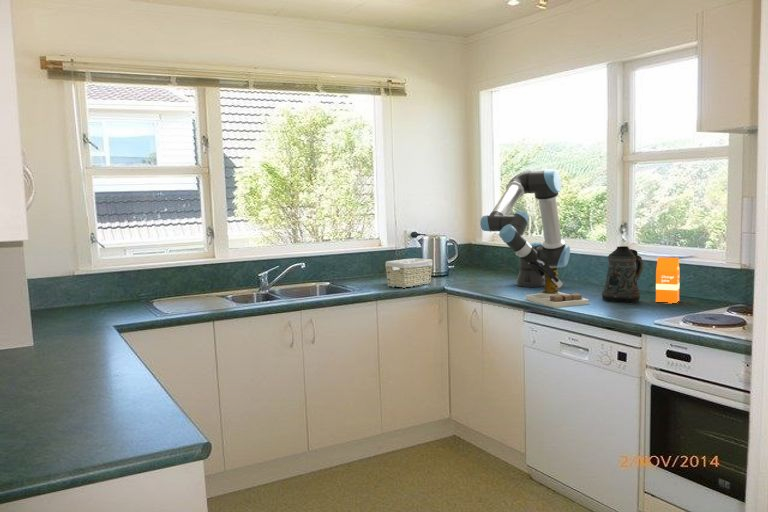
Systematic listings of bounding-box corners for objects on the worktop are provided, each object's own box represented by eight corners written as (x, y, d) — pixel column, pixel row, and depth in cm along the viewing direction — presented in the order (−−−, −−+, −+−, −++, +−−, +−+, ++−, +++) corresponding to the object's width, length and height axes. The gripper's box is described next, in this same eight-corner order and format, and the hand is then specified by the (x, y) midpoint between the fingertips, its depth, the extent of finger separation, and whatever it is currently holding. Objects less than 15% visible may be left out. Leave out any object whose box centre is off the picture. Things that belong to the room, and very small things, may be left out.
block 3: (569, 302, 285) (569, 294, 285) (577, 302, 286) (577, 293, 286) (573, 304, 282) (573, 295, 281) (581, 303, 282) (581, 294, 282)
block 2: (559, 303, 283) (559, 295, 283) (566, 302, 285) (565, 294, 285) (565, 305, 280) (565, 296, 279) (572, 304, 281) (572, 295, 281)
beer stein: (596, 302, 288) (596, 248, 285) (611, 295, 302) (611, 244, 300) (633, 305, 277) (633, 249, 274) (647, 298, 292) (647, 245, 289)
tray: (525, 300, 298) (525, 295, 298) (558, 297, 304) (558, 291, 303) (554, 308, 275) (554, 303, 275) (589, 305, 281) (589, 299, 281)
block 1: (549, 304, 282) (549, 296, 282) (557, 303, 283) (557, 295, 283) (554, 306, 278) (554, 297, 278) (562, 305, 280) (562, 296, 279)
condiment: (558, 294, 289) (558, 268, 288) (539, 293, 292) (539, 268, 291) (558, 291, 296) (558, 266, 295) (540, 291, 299) (540, 266, 298)
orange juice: (677, 303, 277) (677, 258, 275) (655, 302, 282) (655, 258, 280) (679, 300, 284) (679, 257, 282) (658, 299, 288) (658, 256, 286)
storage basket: (414, 282, 370) (413, 257, 369) (434, 284, 359) (433, 258, 357) (384, 287, 354) (383, 261, 353) (404, 290, 343) (403, 263, 341)
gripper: (510, 256, 296) (540, 287, 303) (531, 260, 278) (563, 293, 285) (520, 244, 297) (550, 276, 304) (542, 247, 279) (573, 281, 286)
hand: (556, 284), depth 294 cm, fingers closed on condiment, 6 cm apart
